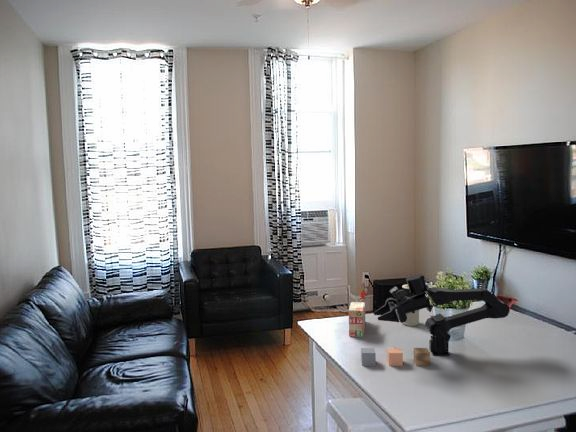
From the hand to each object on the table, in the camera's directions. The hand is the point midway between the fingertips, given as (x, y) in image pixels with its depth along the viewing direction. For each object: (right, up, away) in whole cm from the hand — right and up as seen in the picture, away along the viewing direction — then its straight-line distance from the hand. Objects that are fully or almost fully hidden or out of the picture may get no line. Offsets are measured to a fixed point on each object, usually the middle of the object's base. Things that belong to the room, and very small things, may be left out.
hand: (375, 316), depth 187 cm
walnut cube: (+16, -16, -7) cm, 24 cm away
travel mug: (+23, -11, +37) cm, 45 cm away
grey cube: (-4, -17, -6) cm, 18 cm away
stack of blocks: (-2, -13, +32) cm, 35 cm away
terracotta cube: (+6, -16, -6) cm, 19 cm away
